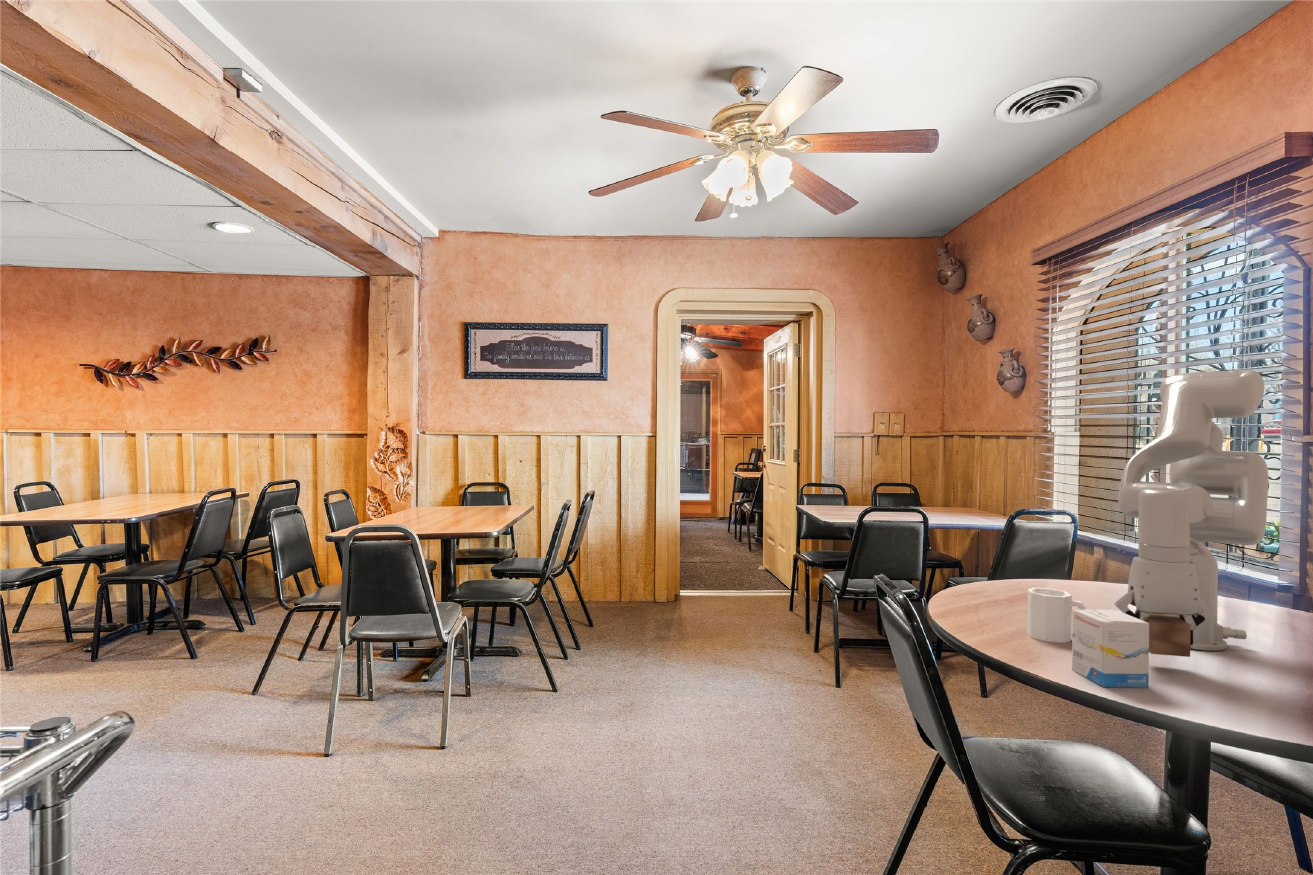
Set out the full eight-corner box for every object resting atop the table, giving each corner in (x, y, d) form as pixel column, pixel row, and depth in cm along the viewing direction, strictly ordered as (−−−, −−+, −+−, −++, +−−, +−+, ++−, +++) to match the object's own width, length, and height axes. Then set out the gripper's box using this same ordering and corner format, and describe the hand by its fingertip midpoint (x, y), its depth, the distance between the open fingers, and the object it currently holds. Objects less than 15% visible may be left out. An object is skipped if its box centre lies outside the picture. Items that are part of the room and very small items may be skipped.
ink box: (1150, 688, 110) (1151, 622, 110) (1102, 687, 110) (1103, 621, 110) (1115, 670, 118) (1116, 608, 118) (1070, 669, 118) (1071, 607, 118)
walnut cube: (1174, 645, 121) (1174, 614, 121) (1190, 656, 115) (1190, 624, 115) (1138, 642, 123) (1138, 612, 123) (1151, 653, 117) (1151, 622, 117)
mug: (1024, 637, 137) (1025, 593, 137) (1029, 628, 144) (1030, 585, 144) (1091, 649, 129) (1091, 602, 129) (1093, 639, 136) (1093, 594, 136)
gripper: (1208, 550, 119) (1208, 643, 120) (1102, 547, 125) (1103, 636, 125) (1230, 559, 112) (1230, 658, 113) (1117, 555, 117) (1117, 650, 118)
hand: (1163, 645), depth 119 cm, fingers closed on walnut cube, 6 cm apart
